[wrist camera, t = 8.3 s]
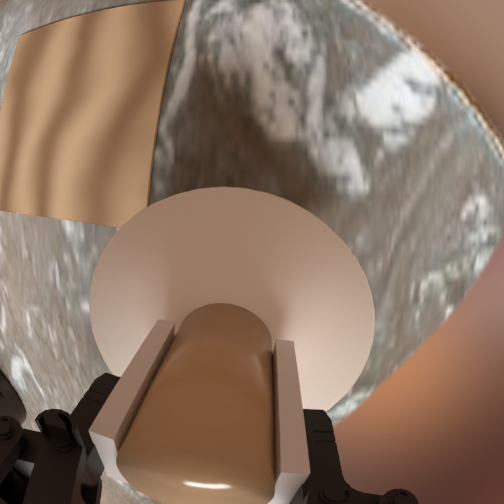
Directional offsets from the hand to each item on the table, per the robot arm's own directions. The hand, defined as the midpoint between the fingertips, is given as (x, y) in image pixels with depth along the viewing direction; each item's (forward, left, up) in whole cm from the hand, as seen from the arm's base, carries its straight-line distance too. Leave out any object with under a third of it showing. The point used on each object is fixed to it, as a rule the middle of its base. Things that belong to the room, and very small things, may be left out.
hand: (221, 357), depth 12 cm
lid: (0, 0, -2) cm, 2 cm away
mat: (-18, +12, -11) cm, 24 cm away
